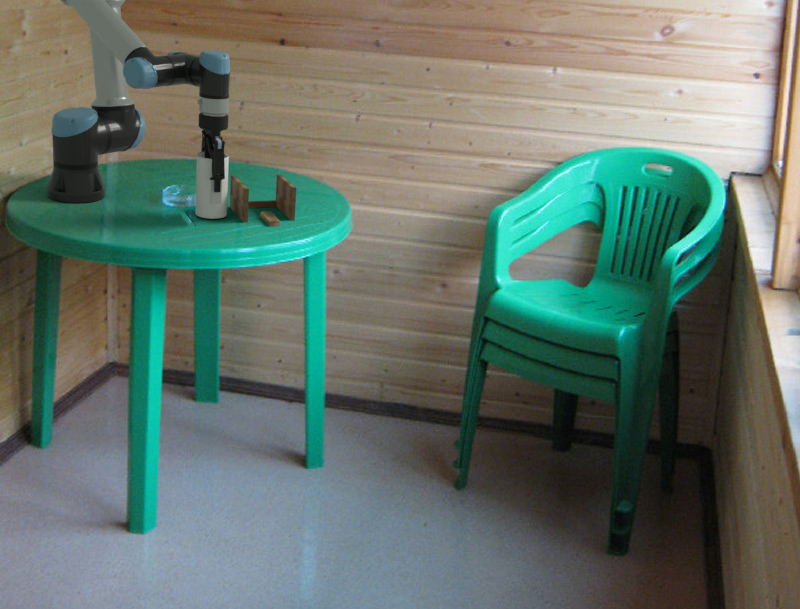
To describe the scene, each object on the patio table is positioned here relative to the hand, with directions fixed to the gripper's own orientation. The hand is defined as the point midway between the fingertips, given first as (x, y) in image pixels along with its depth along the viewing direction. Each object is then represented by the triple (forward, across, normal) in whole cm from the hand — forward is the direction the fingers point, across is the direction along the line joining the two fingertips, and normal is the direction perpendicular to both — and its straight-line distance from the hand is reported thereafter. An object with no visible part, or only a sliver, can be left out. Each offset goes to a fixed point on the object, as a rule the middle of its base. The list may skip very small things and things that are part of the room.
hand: (211, 198), depth 279 cm
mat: (+6, 0, 0) cm, 6 cm away
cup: (+4, 0, 0) cm, 4 cm away
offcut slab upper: (+5, +7, +14) cm, 16 cm away
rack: (+6, 0, +14) cm, 15 cm away
